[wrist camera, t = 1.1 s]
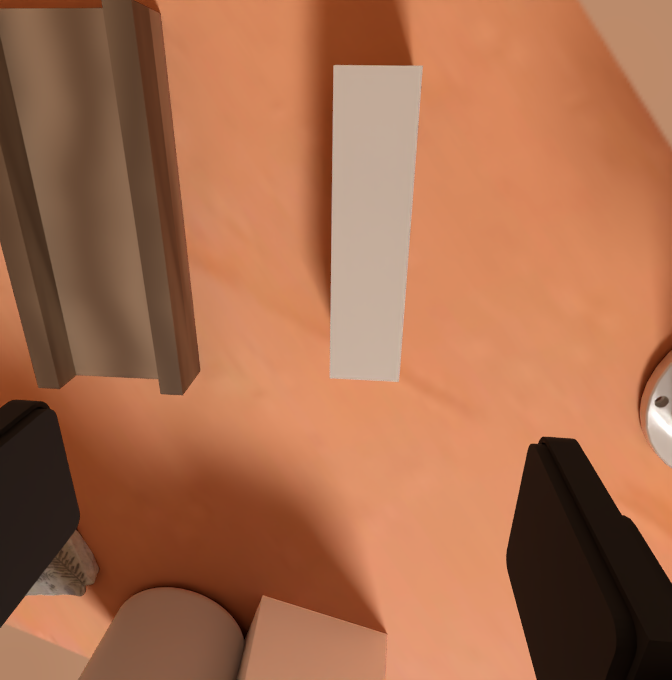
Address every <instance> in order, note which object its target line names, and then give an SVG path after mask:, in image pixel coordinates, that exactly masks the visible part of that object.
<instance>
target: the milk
mask: <svg viewBox="0 0 672 680" xmlns="http://www.w3.org/2000/svg"><path fill="white" fill-rule="evenodd" d="M244 643H245V647H244V651H243V655H242V659H241V663H240V667H239V671H238V675H237V679H236V680H385V674H386V652H387V634H386V633H383V632H379V631H376V630H373V629H370V628H366V627H363V626H360V625H357V624H354V623H350V622H347V621H344V620H341V619H338V618H334V617H331V616H328V615H325V614H322V613H318V612H315V611H312V610H309V609H306V608H302V607H299V606H296V605H293V604H289V603H286V602H283V601H280V600H277V599H273V598H270V597H267V596H264V595H263V596H262V598H261V601H260V603H259V606H258V608H257V611H256V613H255V616H254V618H253V621H252V623H251V626H250V628H249V630H248V633H247V635H246V638H245V640H244Z"/></svg>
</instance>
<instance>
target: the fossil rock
mask: <svg viewBox="0 0 672 680" xmlns="http://www.w3.org/2000/svg"><path fill="white" fill-rule="evenodd" d="M98 572H99V567H98V565H97V563H96V561H95V557H94V555H93V553H92V551H91V550H90V548H89V547H88V545H87V544H86V543H85V541H84V540H83V538H82V536H81V535H80V534H79V532H78V531H77V530H75V532H74V533H73V535H72V536H71V537H70V538H69V540H68V541H67V542H66V544H65V545H64V546H63V548H62V549H61V550H60V551H59V553H58V554H57V555H56V557H55V558H54V559H53V560H52V562H51V563H50V564H49V566H48V567H47V568H46V570H45V571H44V572H43V573H42V575H41V576H40V577H39V579H38V580H37V581H36V582H35V584H34V585H33V586H32V588H31V589H30V590H29V592H28V593H27V594H26V595H25V596H27V595H63V594H64V595H76V596H82V595H84V593H85V592H86V585H91V584H93V583H94V582H95V579H96V575H97V573H98Z"/></svg>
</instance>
